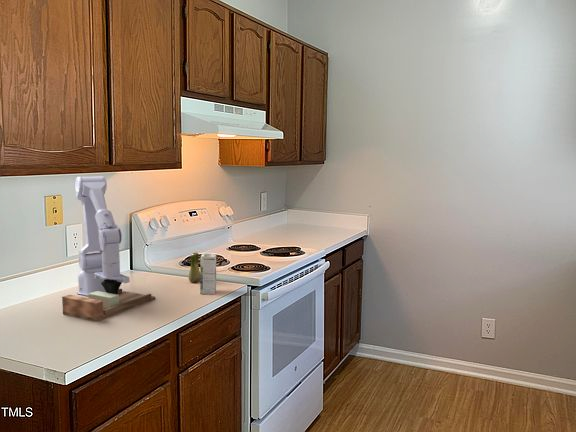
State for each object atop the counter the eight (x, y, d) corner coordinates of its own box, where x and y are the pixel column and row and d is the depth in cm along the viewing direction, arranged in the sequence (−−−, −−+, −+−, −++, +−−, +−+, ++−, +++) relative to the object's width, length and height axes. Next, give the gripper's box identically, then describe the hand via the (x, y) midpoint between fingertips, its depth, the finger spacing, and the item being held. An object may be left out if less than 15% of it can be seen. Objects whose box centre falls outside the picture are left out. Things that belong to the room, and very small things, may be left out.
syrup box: (201, 290, 208) (200, 253, 206) (216, 290, 209) (216, 253, 207) (200, 294, 202) (199, 256, 200) (215, 294, 203) (215, 256, 201)
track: (63, 314, 178) (62, 296, 177) (124, 293, 202) (123, 278, 202) (96, 321, 171) (95, 303, 170) (155, 299, 196) (154, 283, 195)
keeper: (88, 305, 184) (88, 293, 183) (97, 302, 187) (97, 290, 187) (110, 309, 179) (110, 297, 179) (119, 306, 183) (118, 294, 182)
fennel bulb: (192, 284, 217) (192, 255, 215) (185, 282, 220) (184, 253, 219) (203, 281, 221) (203, 253, 219) (196, 279, 224) (196, 251, 223)
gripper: (86, 262, 185) (88, 300, 186) (118, 267, 178) (119, 306, 180) (102, 258, 191) (103, 295, 193) (133, 262, 184) (134, 301, 186)
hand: (112, 300), depth 187 cm, fingers closed, pressing on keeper
